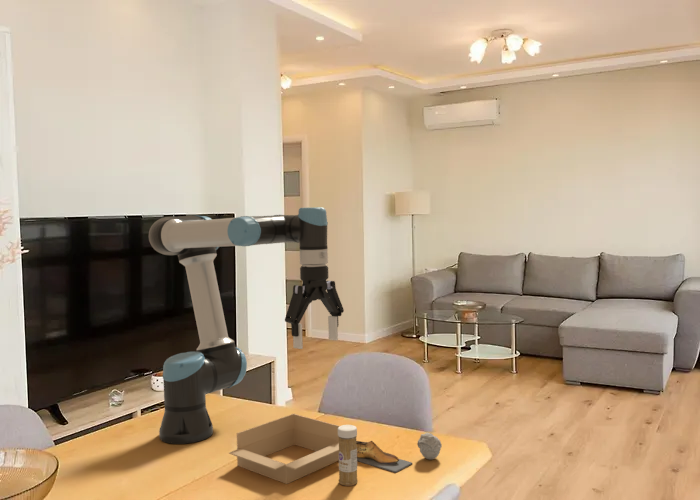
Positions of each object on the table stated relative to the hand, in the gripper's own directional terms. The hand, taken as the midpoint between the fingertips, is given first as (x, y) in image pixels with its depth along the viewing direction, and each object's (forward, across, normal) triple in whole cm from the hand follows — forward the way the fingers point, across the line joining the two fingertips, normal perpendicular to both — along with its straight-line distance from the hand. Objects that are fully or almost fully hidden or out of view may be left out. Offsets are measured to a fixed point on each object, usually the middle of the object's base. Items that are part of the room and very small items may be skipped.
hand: (316, 344), depth 180 cm
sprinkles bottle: (+29, -12, -21) cm, 38 cm away
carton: (+29, -13, -3) cm, 32 cm away
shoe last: (+28, +3, -18) cm, 34 cm away
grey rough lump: (+29, +12, -28) cm, 42 cm away
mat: (+29, +3, -18) cm, 34 cm away
